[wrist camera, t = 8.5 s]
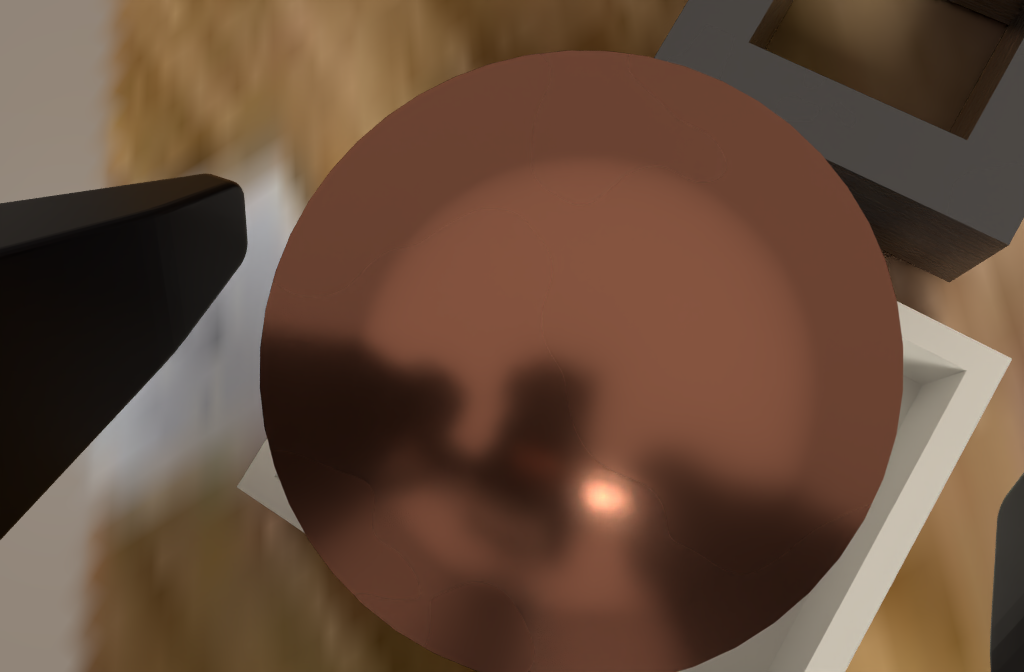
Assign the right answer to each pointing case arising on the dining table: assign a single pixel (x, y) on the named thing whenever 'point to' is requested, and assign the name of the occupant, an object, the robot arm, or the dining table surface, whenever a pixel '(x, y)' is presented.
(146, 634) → the dining table surface
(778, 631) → the tray
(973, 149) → the dark grey square socket
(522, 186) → the pin
